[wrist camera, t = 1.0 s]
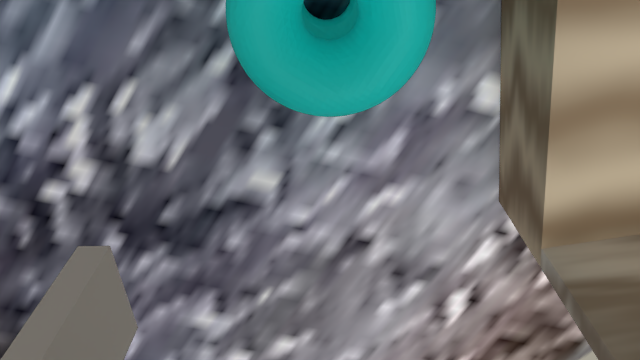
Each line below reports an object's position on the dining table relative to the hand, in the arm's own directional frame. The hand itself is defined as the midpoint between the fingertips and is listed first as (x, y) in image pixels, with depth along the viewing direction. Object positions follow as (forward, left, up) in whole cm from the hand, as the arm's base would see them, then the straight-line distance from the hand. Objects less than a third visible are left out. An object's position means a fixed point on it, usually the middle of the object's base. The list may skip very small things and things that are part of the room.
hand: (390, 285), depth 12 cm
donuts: (0, +3, -25) cm, 25 cm away
